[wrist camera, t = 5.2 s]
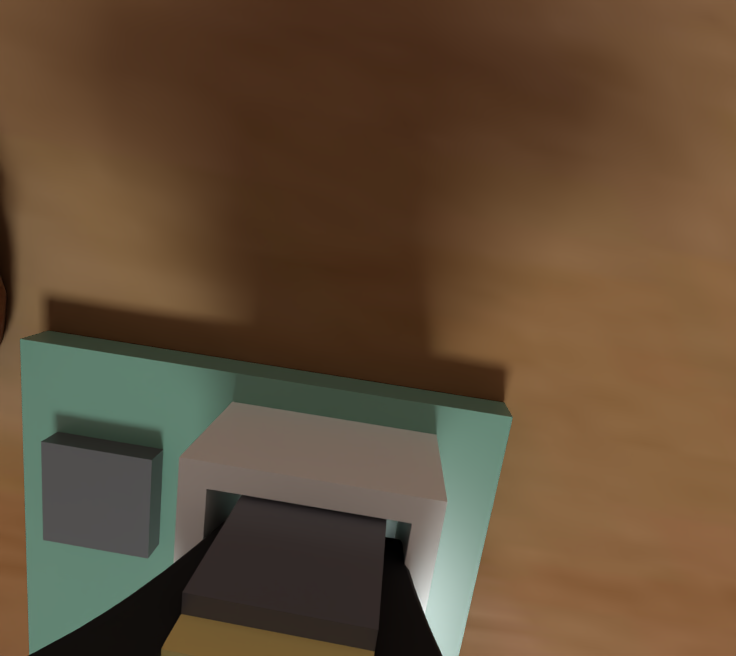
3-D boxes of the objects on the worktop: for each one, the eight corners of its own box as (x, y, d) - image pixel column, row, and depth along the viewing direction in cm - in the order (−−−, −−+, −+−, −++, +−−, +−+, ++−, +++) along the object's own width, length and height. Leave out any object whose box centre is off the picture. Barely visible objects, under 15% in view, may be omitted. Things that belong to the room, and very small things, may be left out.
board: (411, 826, 16) (412, 931, 14) (54, 756, 17) (-4, 846, 14) (504, 402, 13) (528, 444, 10) (48, 330, 13) (-32, 354, 11)
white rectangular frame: (398, 636, 13) (397, 750, 11) (216, 604, 14) (165, 707, 11) (436, 434, 12) (447, 501, 9) (232, 401, 12) (179, 456, 9)
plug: (368, 591, 13) (338, 870, 7) (261, 571, 13) (153, 829, 7) (391, 460, 12) (375, 667, 6) (274, 439, 12) (161, 625, 6)
